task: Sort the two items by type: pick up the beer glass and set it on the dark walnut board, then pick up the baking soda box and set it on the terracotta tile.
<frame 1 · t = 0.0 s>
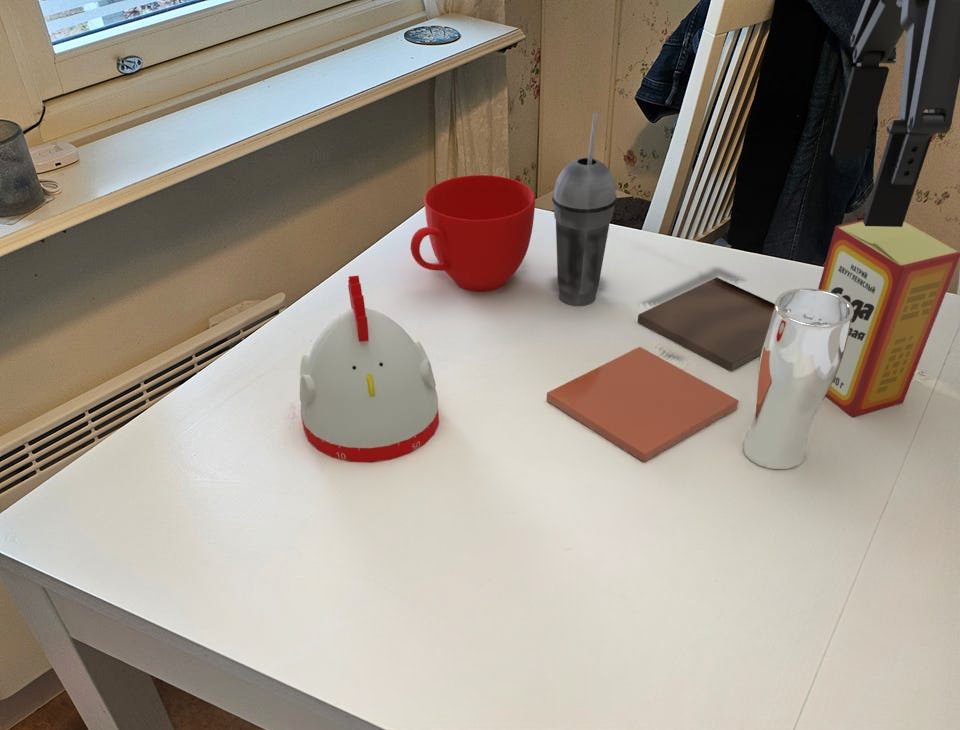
hand: (863, 188, 72), 24 cm above the table, tool pointing down, fingers open, 13 cm apart
walnut board: (723, 325, 104), on the table
beverage cup: (577, 298, 109), on the table
baking soda box: (847, 388, 95), on the table
ceramic cup: (469, 286, 112), on the table
beer glass: (773, 452, 88), on the table
terracotta tile: (641, 404, 94), on the table
kitchen timer: (371, 422, 92), on the table
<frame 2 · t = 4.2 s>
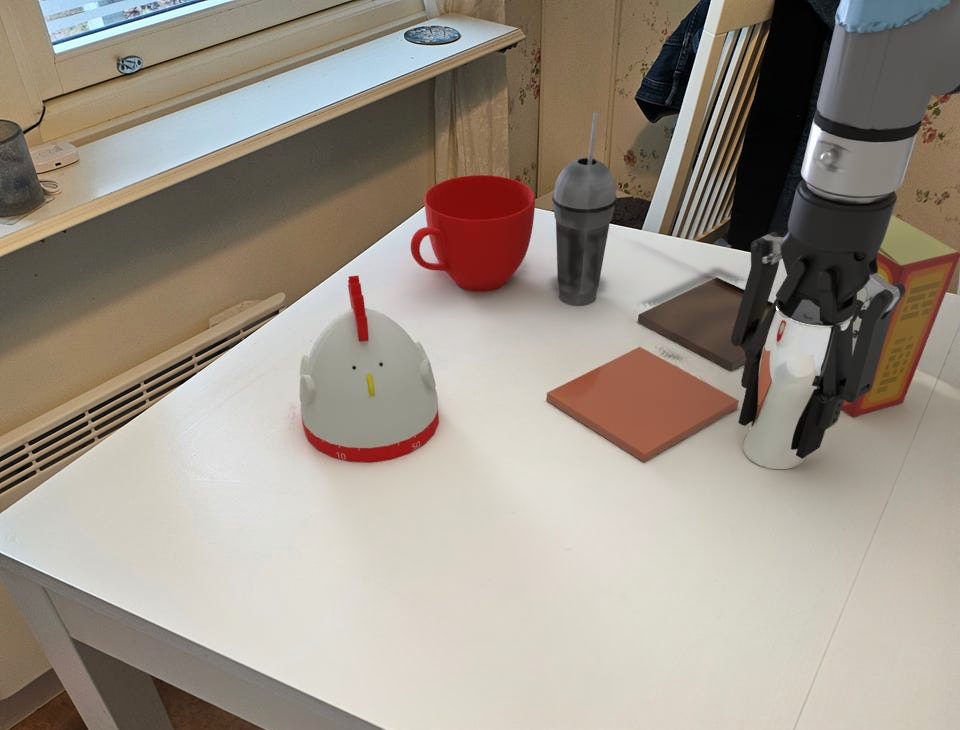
hand: (778, 434, 87), 2 cm above the table, tool pointing down, fingers closed on beer glass, 6 cm apart
beer glass: (773, 452, 88), on the table, touching gripper
everything else where it was.
when the fingers open (3 cm above the table, at t = 12.9 s): beer glass stays where it is, resting on walnut board.
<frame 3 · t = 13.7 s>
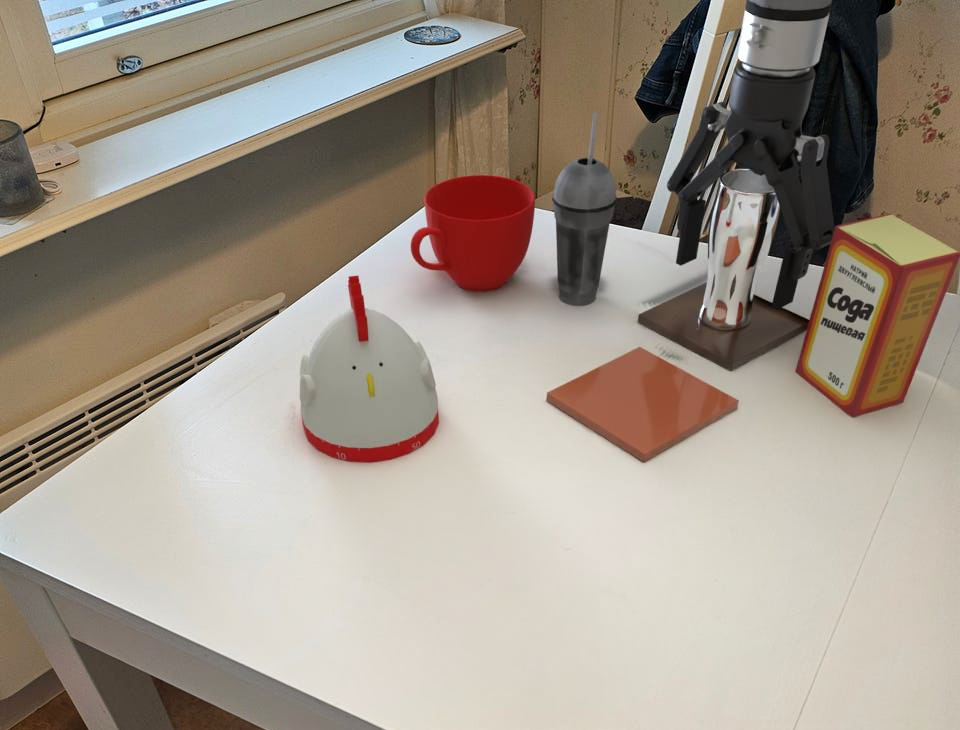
hand: (732, 282, 100), 5 cm above the table, tool pointing down, fingers open, 13 cm apart
beer glass: (724, 318, 104), point 1 cm above the table, touching walnut board
everything else where it was.
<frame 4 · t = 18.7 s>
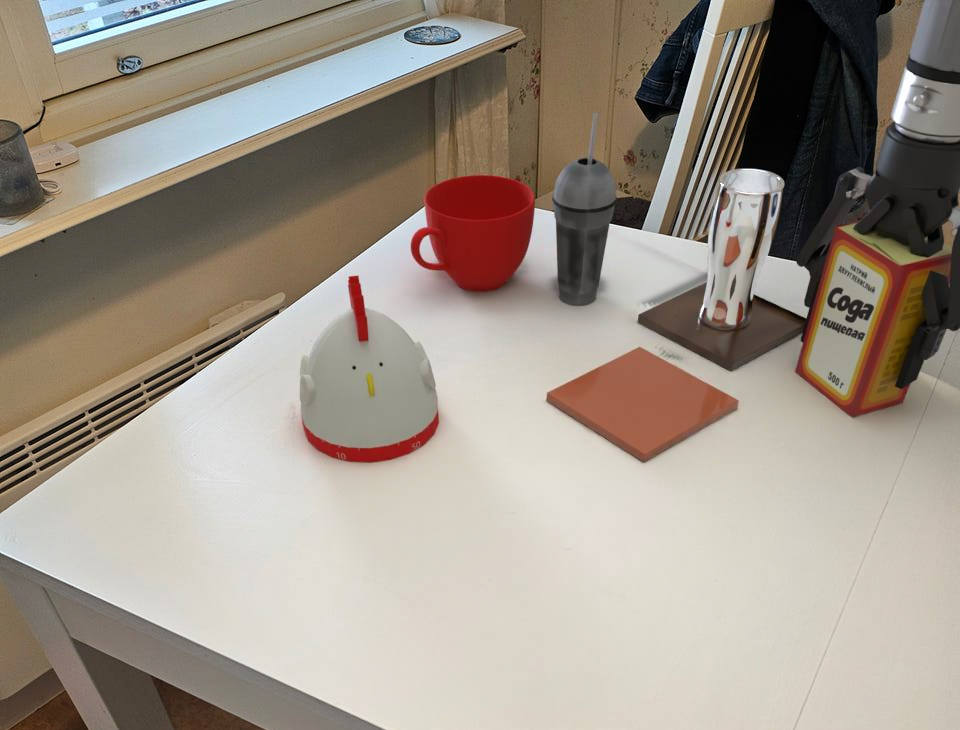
hand: (856, 359, 93), 3 cm above the table, tool pointing down, fingers closed on baking soda box, 11 cm apart
baking soda box: (847, 388, 95), on the table, touching gripper
everything else where it was.
when the fingers open (4 cm above the table, at t = 28.2 s): baking soda box stays where it is, resting on terracotta tile.
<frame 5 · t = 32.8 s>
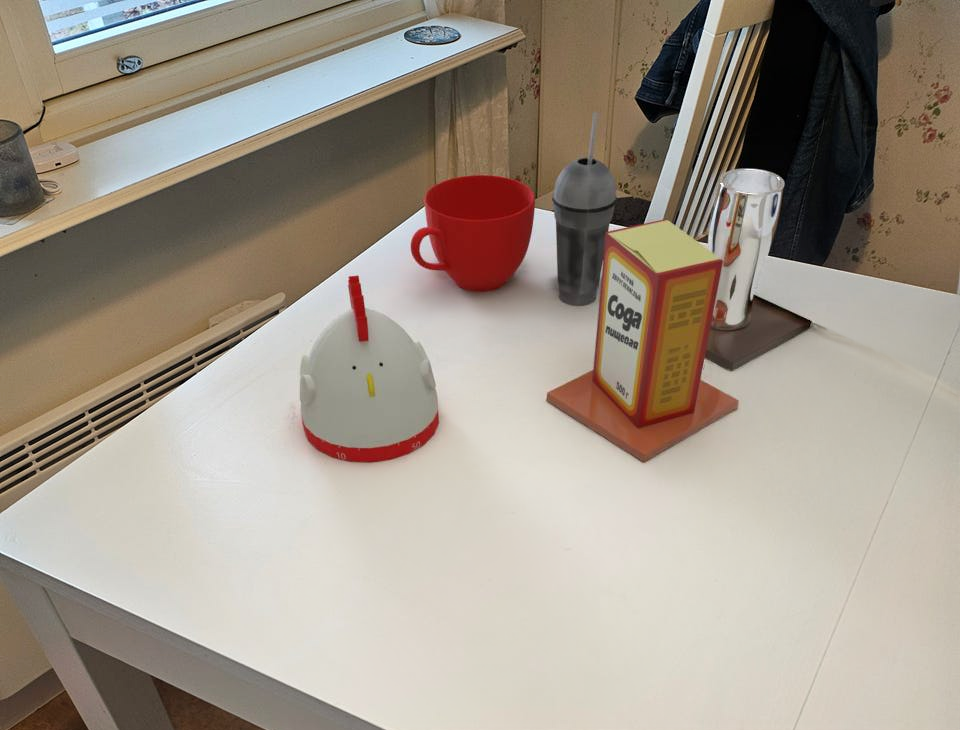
baking soda box: (641, 398, 93), point 1 cm above the table, touching terracotta tile
everything else where it was.
at the end: beer glass inside the target area on the walnut board (0.1 cm from its centre), point 0.8 cm above the walnut board's base; baking soda box inside the target area on the terracotta tile (0.0 cm from its centre), point 0.8 cm above the terracotta tile's base; beer glass tilted 0° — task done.
